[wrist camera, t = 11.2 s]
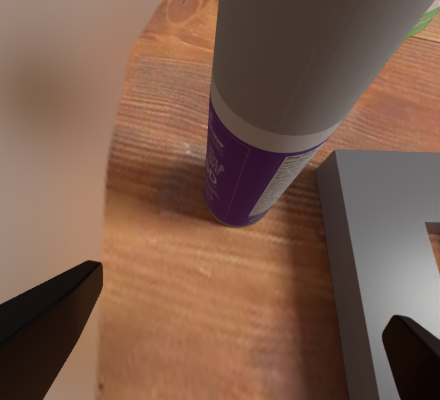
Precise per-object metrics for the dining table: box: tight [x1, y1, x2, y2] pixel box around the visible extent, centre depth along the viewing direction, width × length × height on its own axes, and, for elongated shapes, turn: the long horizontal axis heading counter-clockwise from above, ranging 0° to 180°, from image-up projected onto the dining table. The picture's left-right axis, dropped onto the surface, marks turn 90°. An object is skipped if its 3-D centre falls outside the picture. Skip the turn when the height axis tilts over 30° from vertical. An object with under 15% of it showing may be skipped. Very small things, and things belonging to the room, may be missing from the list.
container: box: [204, 0, 435, 228], centre depth 12 cm, size 5×5×15 cm
